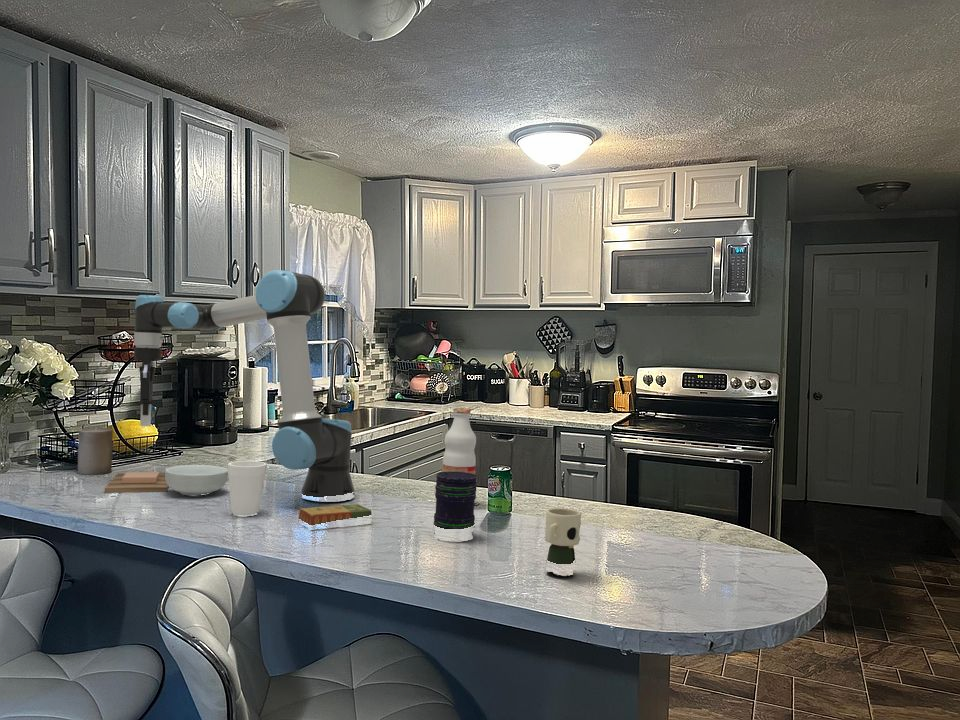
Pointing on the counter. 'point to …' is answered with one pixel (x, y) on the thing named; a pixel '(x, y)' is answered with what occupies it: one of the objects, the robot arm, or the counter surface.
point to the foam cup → (246, 486)
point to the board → (136, 485)
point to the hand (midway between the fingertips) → (145, 425)
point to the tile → (140, 477)
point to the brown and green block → (332, 513)
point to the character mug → (562, 534)
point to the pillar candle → (95, 451)
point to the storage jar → (455, 500)
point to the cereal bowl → (196, 478)
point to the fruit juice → (460, 444)
